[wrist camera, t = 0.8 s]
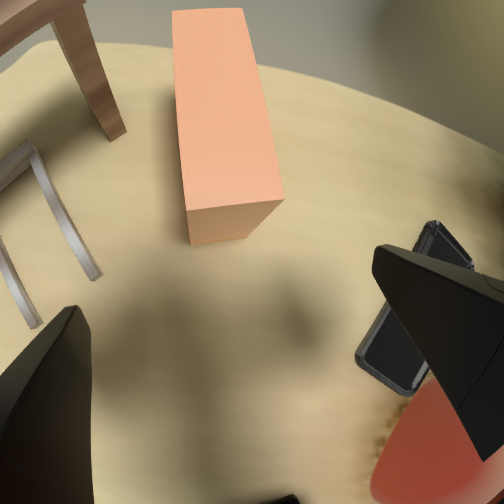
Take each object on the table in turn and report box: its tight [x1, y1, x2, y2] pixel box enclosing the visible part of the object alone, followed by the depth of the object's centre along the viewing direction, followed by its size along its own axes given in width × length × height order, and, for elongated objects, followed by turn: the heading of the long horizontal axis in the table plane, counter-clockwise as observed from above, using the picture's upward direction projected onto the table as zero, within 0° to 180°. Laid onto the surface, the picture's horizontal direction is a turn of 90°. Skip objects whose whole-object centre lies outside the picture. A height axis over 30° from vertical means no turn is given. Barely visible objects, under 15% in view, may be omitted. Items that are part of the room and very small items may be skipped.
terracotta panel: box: [172, 8, 285, 245], centre depth 18 cm, size 12×4×10 cm, turn 9°
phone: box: [355, 220, 474, 397], centre depth 24 cm, size 8×1×15 cm
